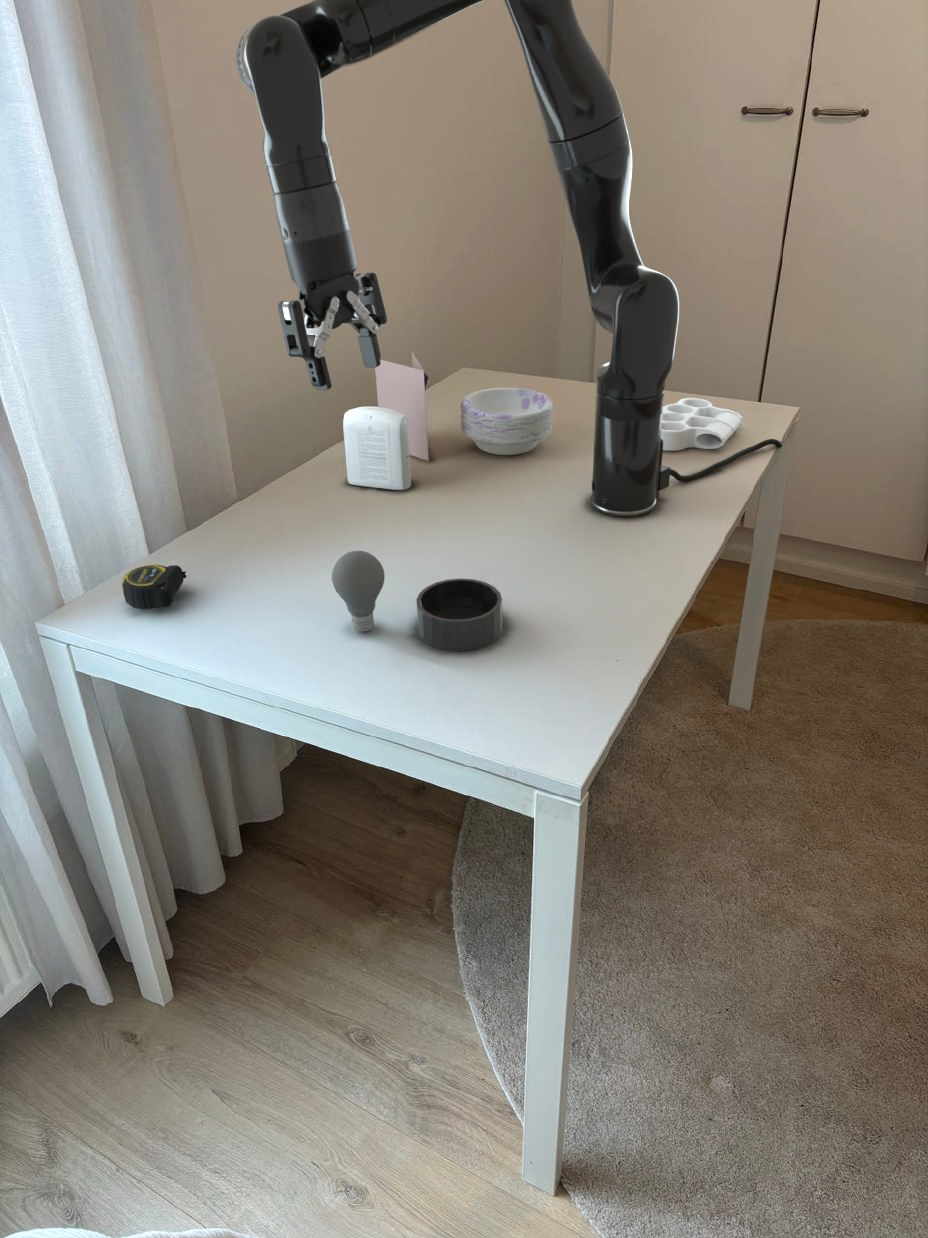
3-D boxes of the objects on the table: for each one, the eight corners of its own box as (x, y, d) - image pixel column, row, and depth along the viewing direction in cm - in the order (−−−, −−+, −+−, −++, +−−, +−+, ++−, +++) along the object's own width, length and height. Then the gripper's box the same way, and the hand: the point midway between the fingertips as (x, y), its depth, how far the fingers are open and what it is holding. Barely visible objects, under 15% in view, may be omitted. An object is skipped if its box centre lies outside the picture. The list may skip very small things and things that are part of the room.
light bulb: (381, 644, 109) (374, 568, 104) (331, 640, 110) (322, 564, 105) (394, 617, 114) (388, 543, 109) (346, 613, 115) (338, 539, 110)
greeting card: (433, 460, 156) (429, 370, 148) (389, 465, 155) (382, 374, 147) (421, 436, 166) (416, 350, 158) (379, 440, 164) (372, 354, 156)
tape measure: (172, 615, 116) (167, 588, 114) (118, 615, 116) (111, 588, 114) (189, 587, 122) (183, 561, 120) (136, 587, 122) (130, 562, 120)
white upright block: (415, 482, 149) (411, 405, 142) (406, 493, 145) (401, 414, 139) (355, 476, 151) (347, 400, 145) (344, 486, 148) (336, 409, 141)
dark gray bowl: (462, 598, 117) (461, 570, 115) (519, 628, 111) (519, 598, 109) (401, 628, 112) (399, 599, 110) (457, 661, 106) (456, 631, 104)
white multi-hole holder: (715, 459, 153) (629, 445, 159) (746, 423, 166) (666, 411, 172) (718, 439, 151) (631, 425, 157) (749, 405, 164) (667, 393, 171)
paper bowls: (567, 438, 162) (568, 393, 158) (523, 469, 152) (524, 421, 147) (491, 424, 170) (490, 380, 165) (444, 452, 159) (442, 406, 155)
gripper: (291, 244, 97) (329, 398, 105) (382, 215, 106) (411, 359, 114) (244, 248, 101) (284, 396, 109) (335, 220, 111) (366, 358, 118)
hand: (349, 377), depth 112 cm, fingers open, 8 cm apart
